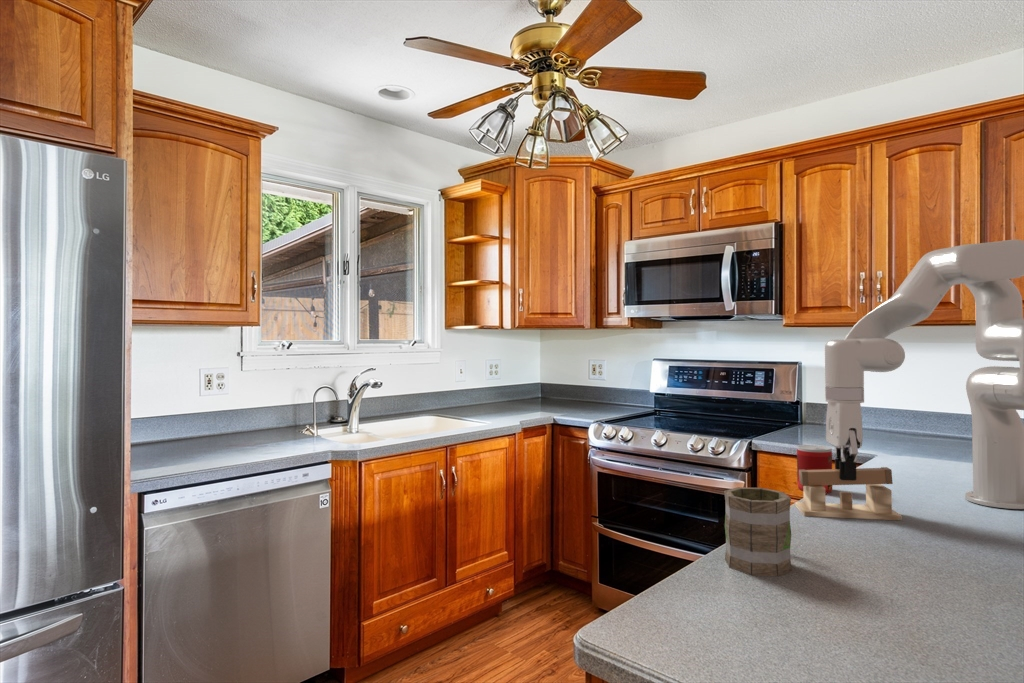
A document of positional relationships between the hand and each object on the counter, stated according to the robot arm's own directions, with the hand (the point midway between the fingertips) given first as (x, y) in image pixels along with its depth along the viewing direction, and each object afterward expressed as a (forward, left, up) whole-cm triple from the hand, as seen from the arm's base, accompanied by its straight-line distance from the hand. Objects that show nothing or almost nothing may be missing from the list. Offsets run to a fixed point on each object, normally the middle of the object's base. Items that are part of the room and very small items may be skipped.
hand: (845, 477), depth 133 cm
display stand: (0, 0, -8) cm, 8 cm away
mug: (+24, +34, -8) cm, 42 cm away
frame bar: (0, 0, -1) cm, 1 cm away
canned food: (+1, -21, -8) cm, 23 cm away
